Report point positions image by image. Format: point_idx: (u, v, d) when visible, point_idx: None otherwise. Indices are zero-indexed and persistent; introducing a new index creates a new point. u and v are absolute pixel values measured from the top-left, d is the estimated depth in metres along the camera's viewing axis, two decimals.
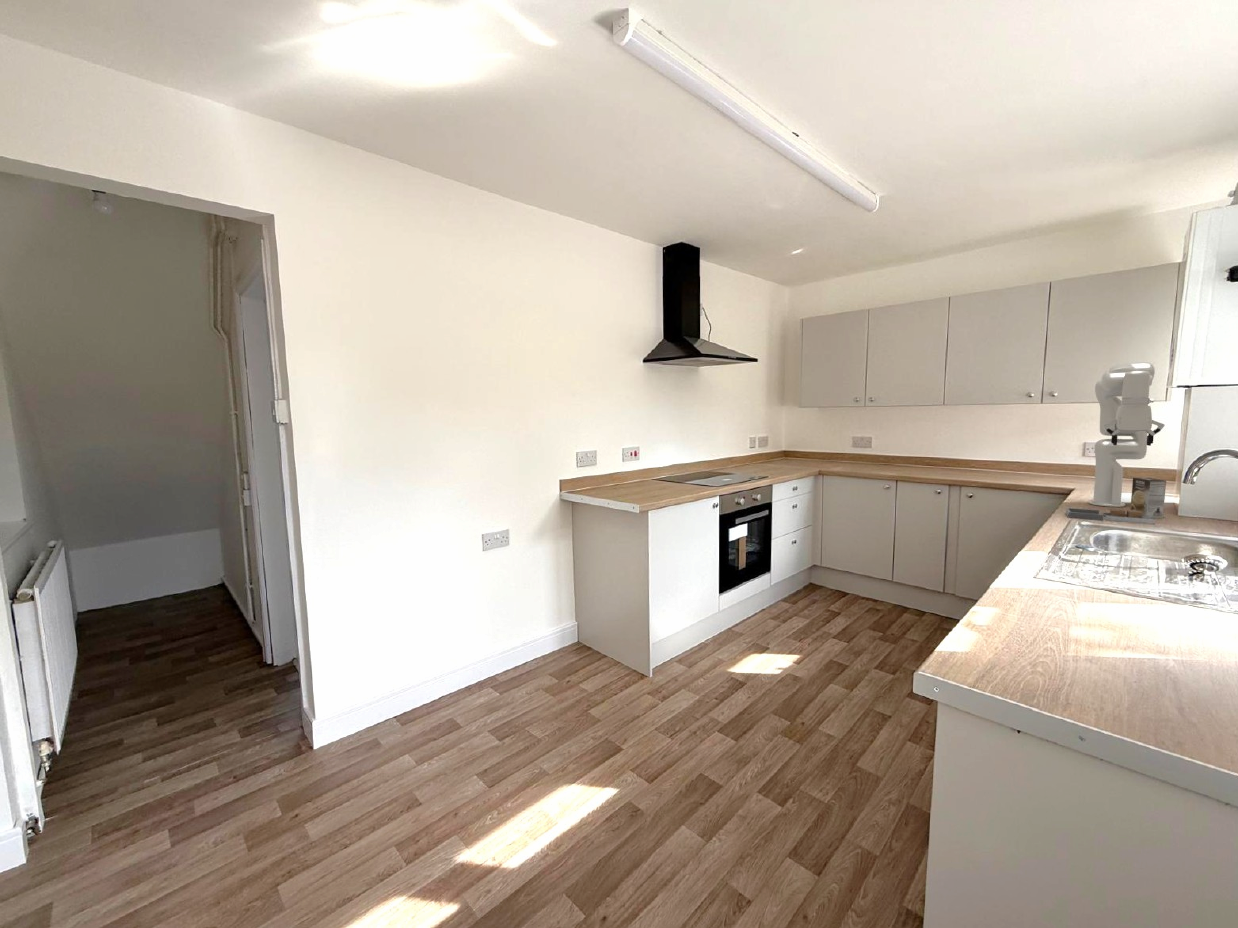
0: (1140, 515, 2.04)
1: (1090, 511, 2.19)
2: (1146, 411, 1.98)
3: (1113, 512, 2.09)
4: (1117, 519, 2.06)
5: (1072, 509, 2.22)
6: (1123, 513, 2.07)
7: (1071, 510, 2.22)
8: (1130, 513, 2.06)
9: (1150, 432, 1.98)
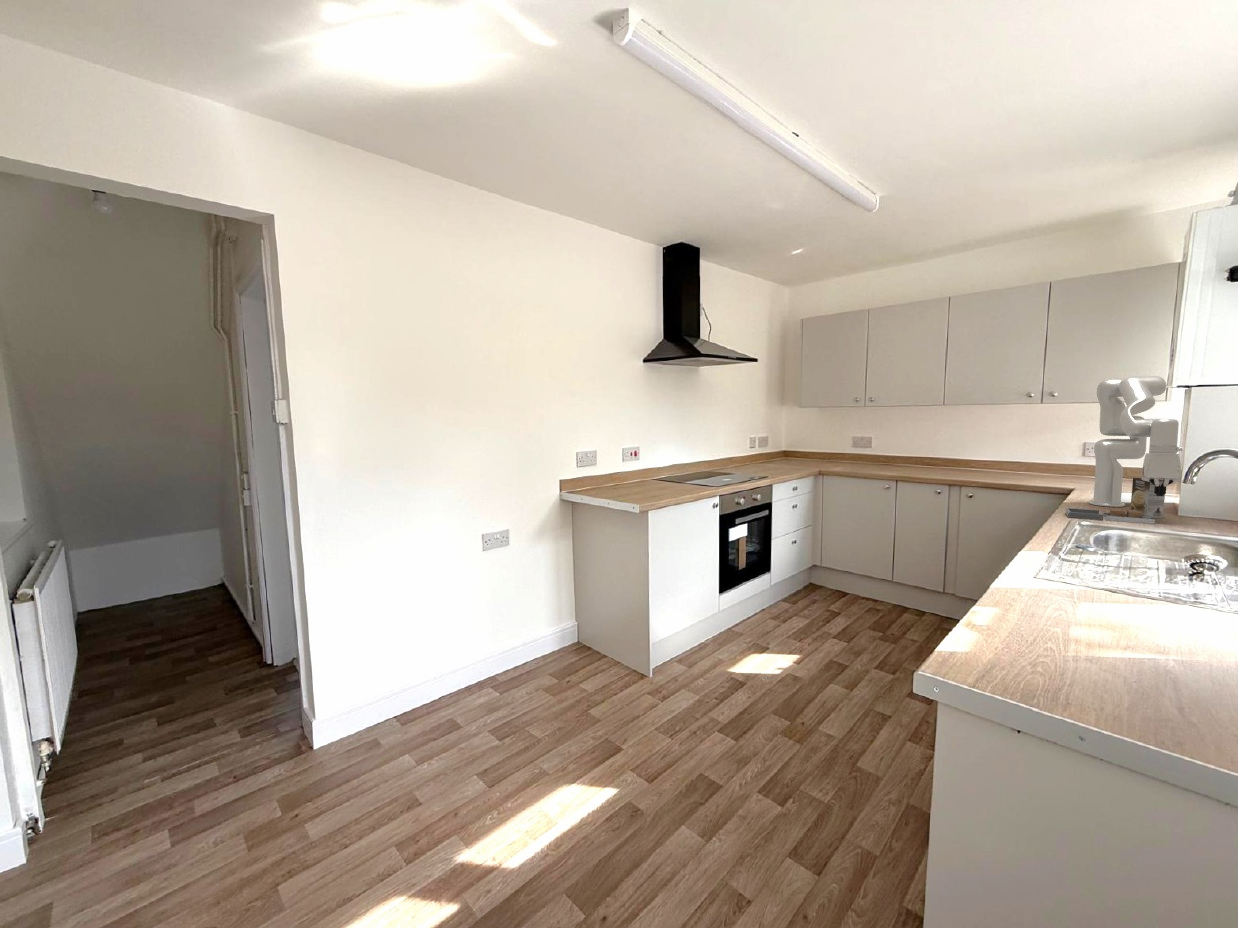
0: (1140, 515, 2.04)
1: (1090, 511, 2.19)
2: (1175, 459, 1.97)
3: (1113, 512, 2.09)
4: (1117, 519, 2.06)
5: (1072, 509, 2.22)
6: (1123, 513, 2.07)
7: (1071, 510, 2.22)
8: (1130, 513, 2.06)
9: (1165, 482, 1.99)
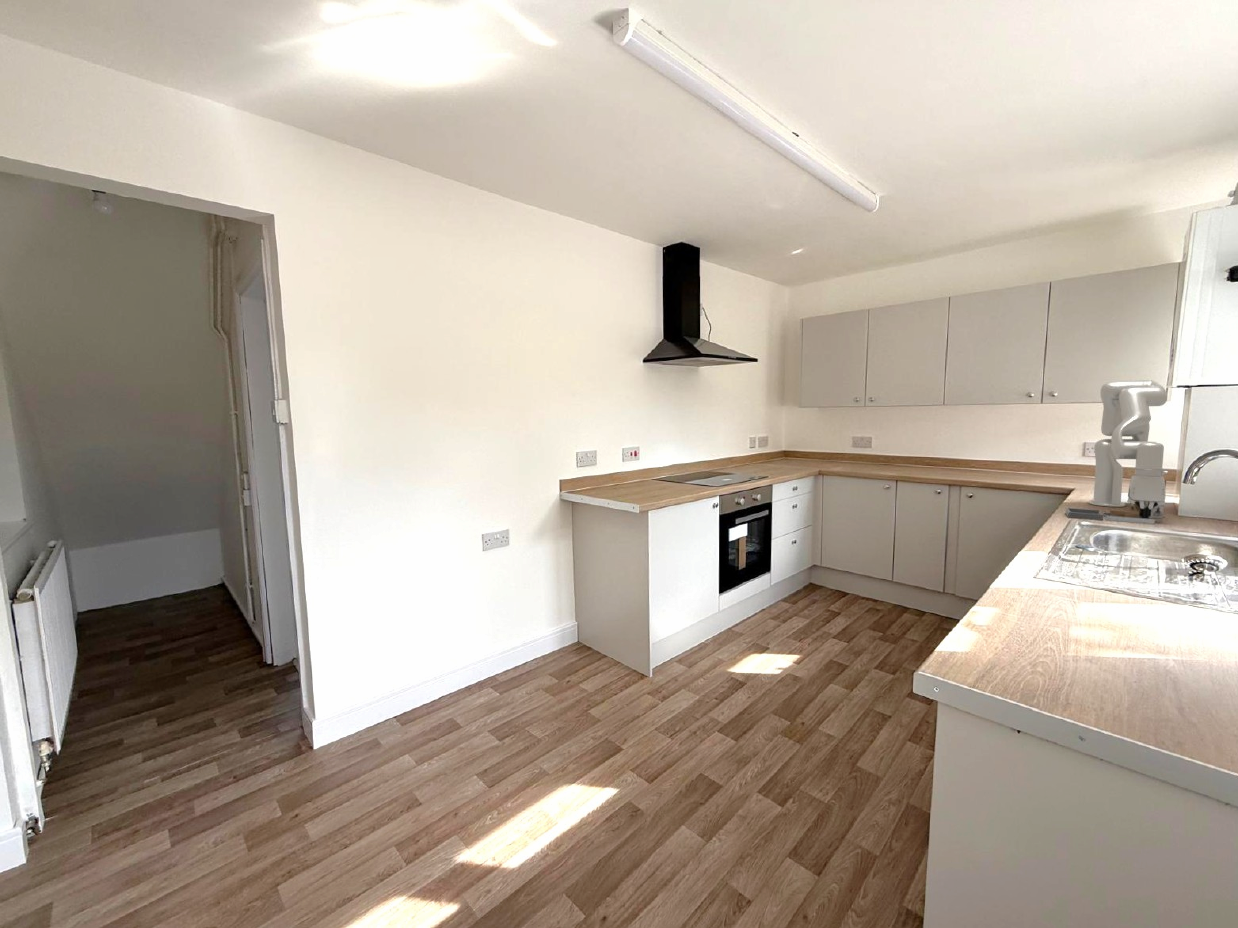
0: (1136, 514, 2.05)
1: (1090, 511, 2.19)
2: (1160, 482, 2.00)
3: (1113, 512, 2.09)
4: (1117, 519, 2.06)
5: (1072, 509, 2.22)
6: (1123, 513, 2.07)
7: (1071, 510, 2.22)
8: (1127, 512, 2.06)
9: (1150, 505, 2.03)
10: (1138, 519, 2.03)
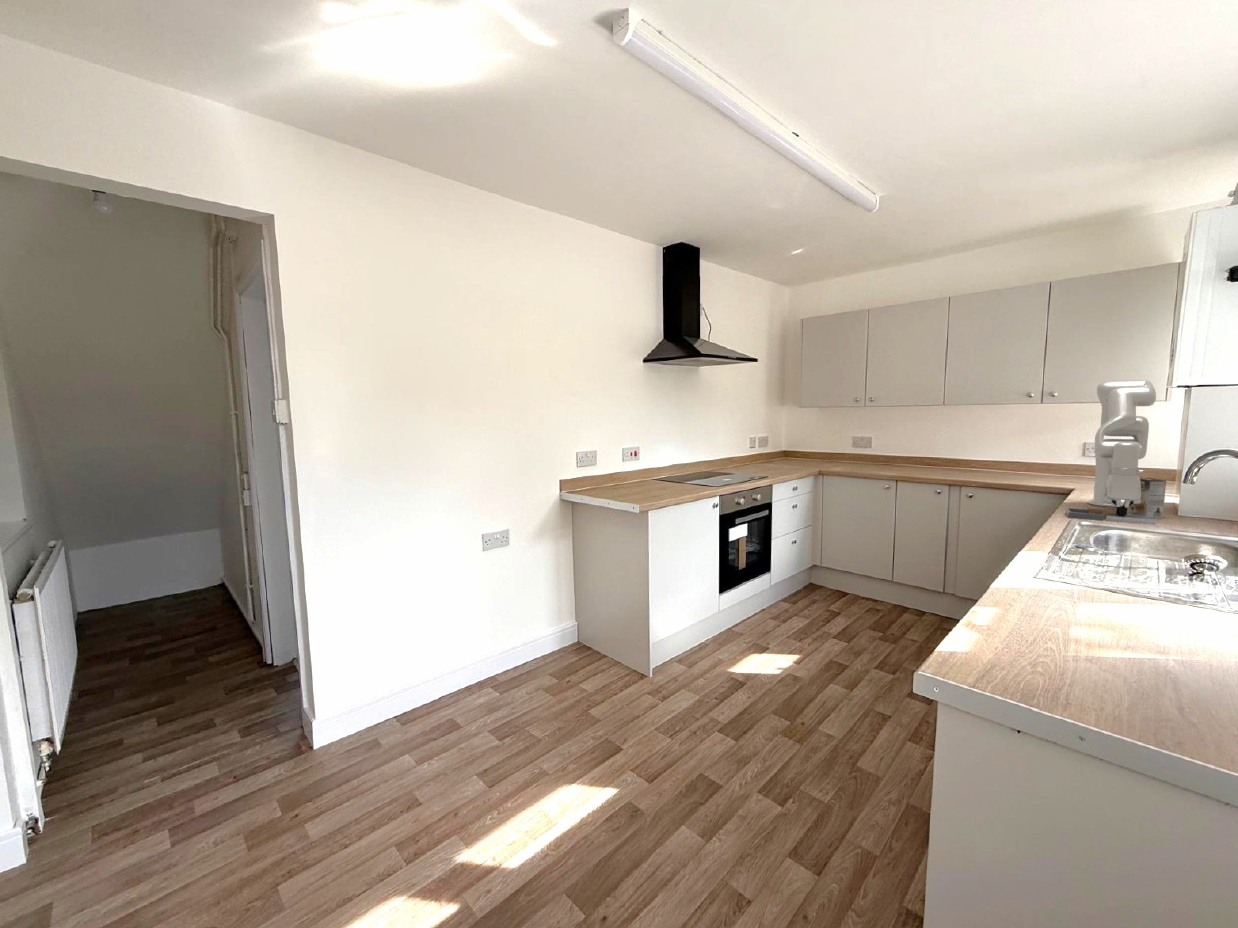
0: (1113, 513, 2.09)
1: None
2: (1135, 481, 2.04)
3: (1090, 510, 2.13)
4: (1117, 519, 2.06)
5: (1072, 509, 2.22)
6: (1100, 511, 2.11)
7: (1071, 510, 2.22)
8: (1103, 511, 2.11)
9: (1126, 503, 2.07)
10: (1138, 519, 2.03)
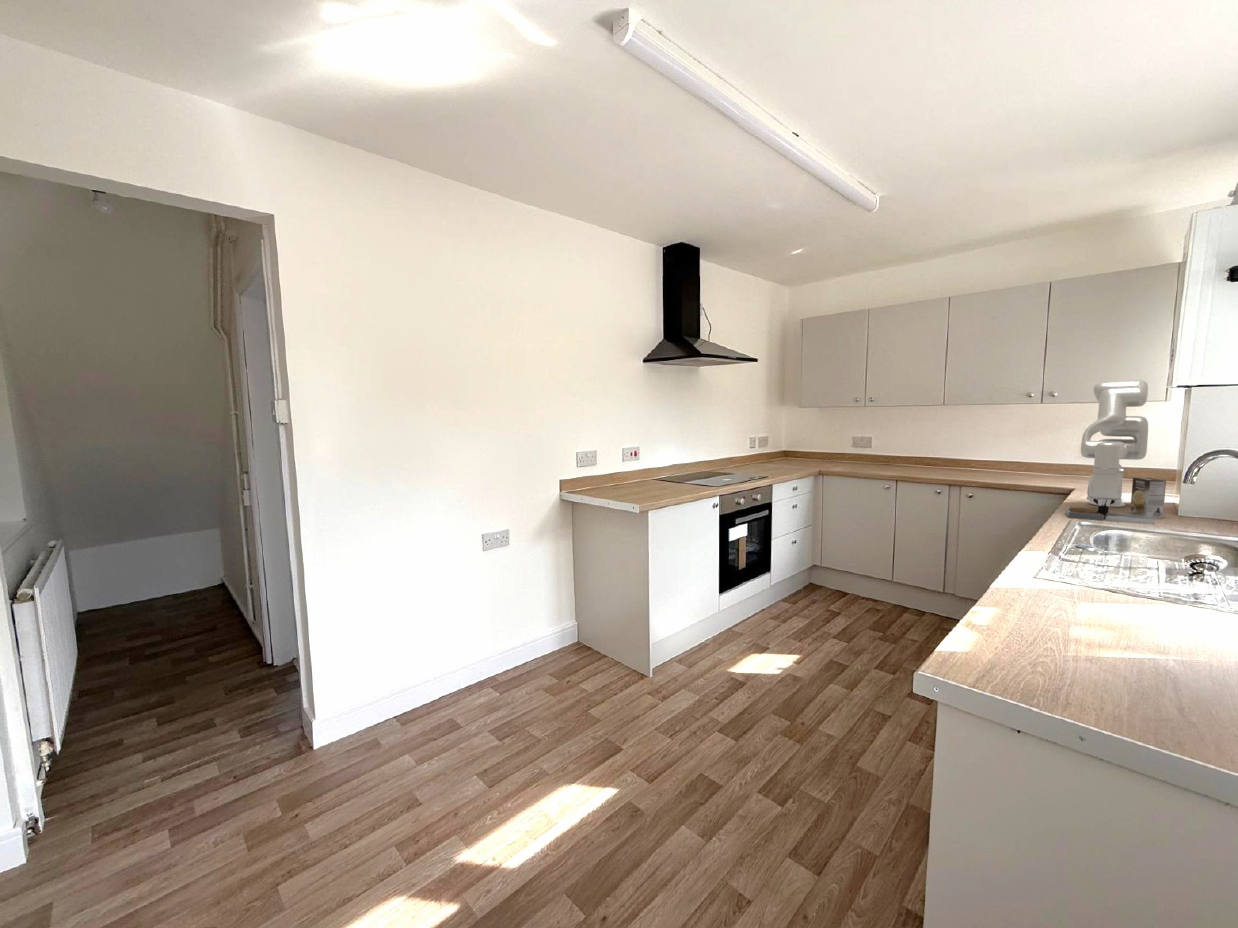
0: (1095, 512, 2.12)
1: None
2: (1116, 481, 2.07)
3: (1073, 509, 2.16)
4: (1117, 519, 2.06)
5: None
6: (1082, 510, 2.15)
7: None
8: (1085, 510, 2.14)
9: (1108, 502, 2.10)
10: (1138, 519, 2.03)
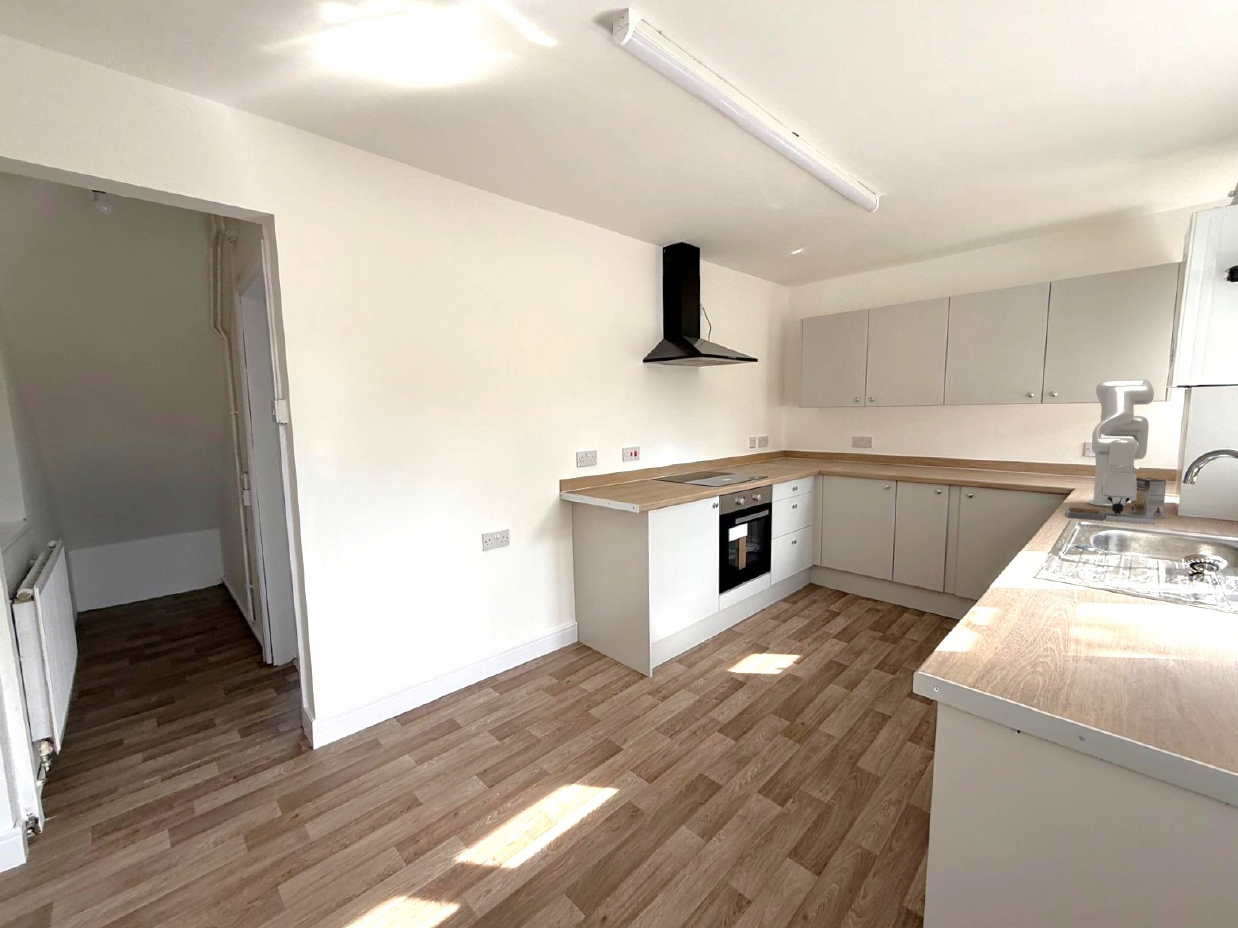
0: (1094, 512, 2.12)
1: None
2: (1131, 478, 2.05)
3: (1072, 509, 2.17)
4: (1117, 519, 2.06)
5: None
6: (1082, 510, 2.15)
7: None
8: (1085, 510, 2.14)
9: (1122, 500, 2.08)
10: (1138, 519, 2.03)
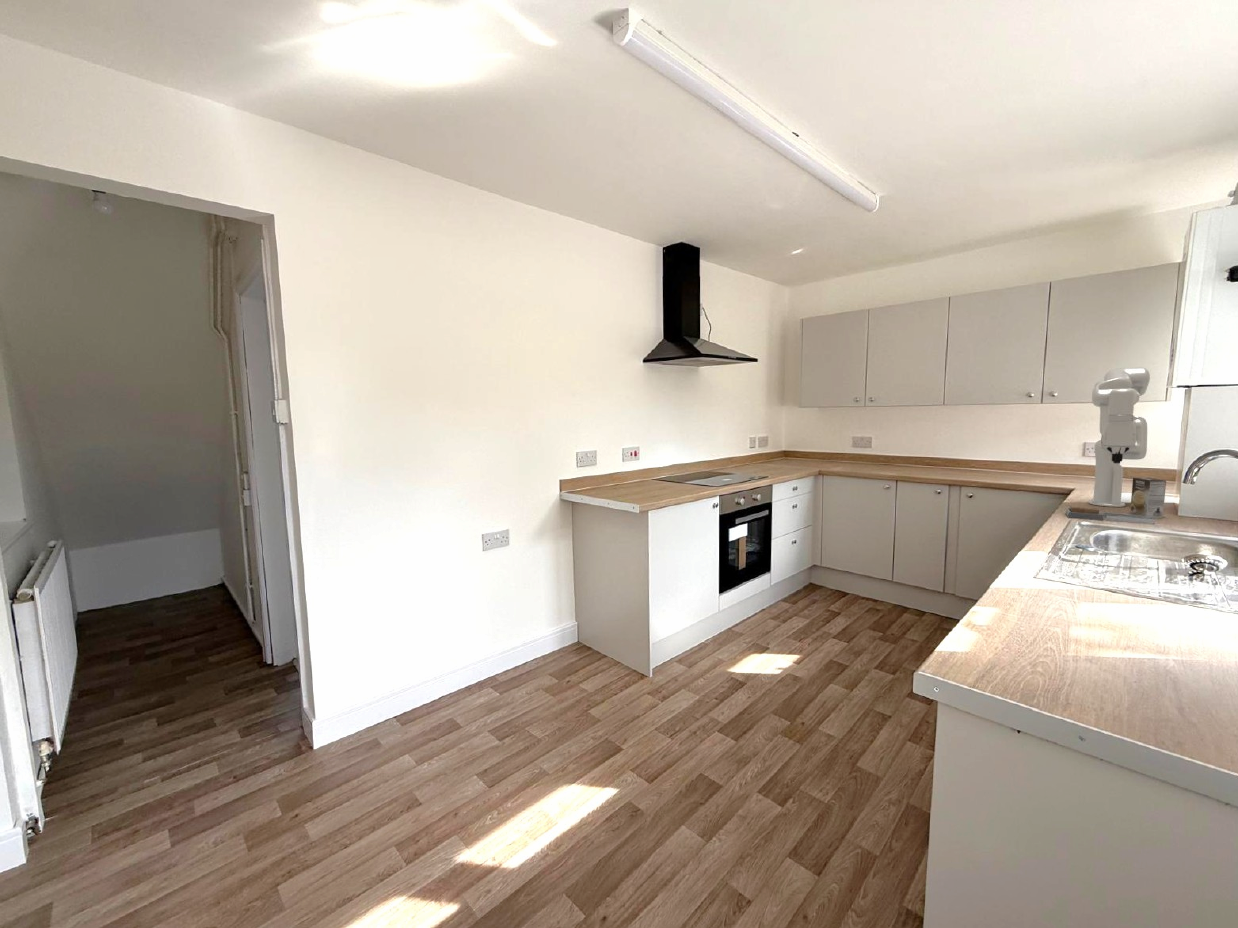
0: (1094, 512, 2.12)
1: None
2: (1130, 427, 2.05)
3: (1072, 509, 2.17)
4: (1117, 519, 2.06)
5: None
6: (1082, 510, 2.15)
7: None
8: (1085, 510, 2.14)
9: (1122, 450, 2.08)
10: (1138, 519, 2.03)
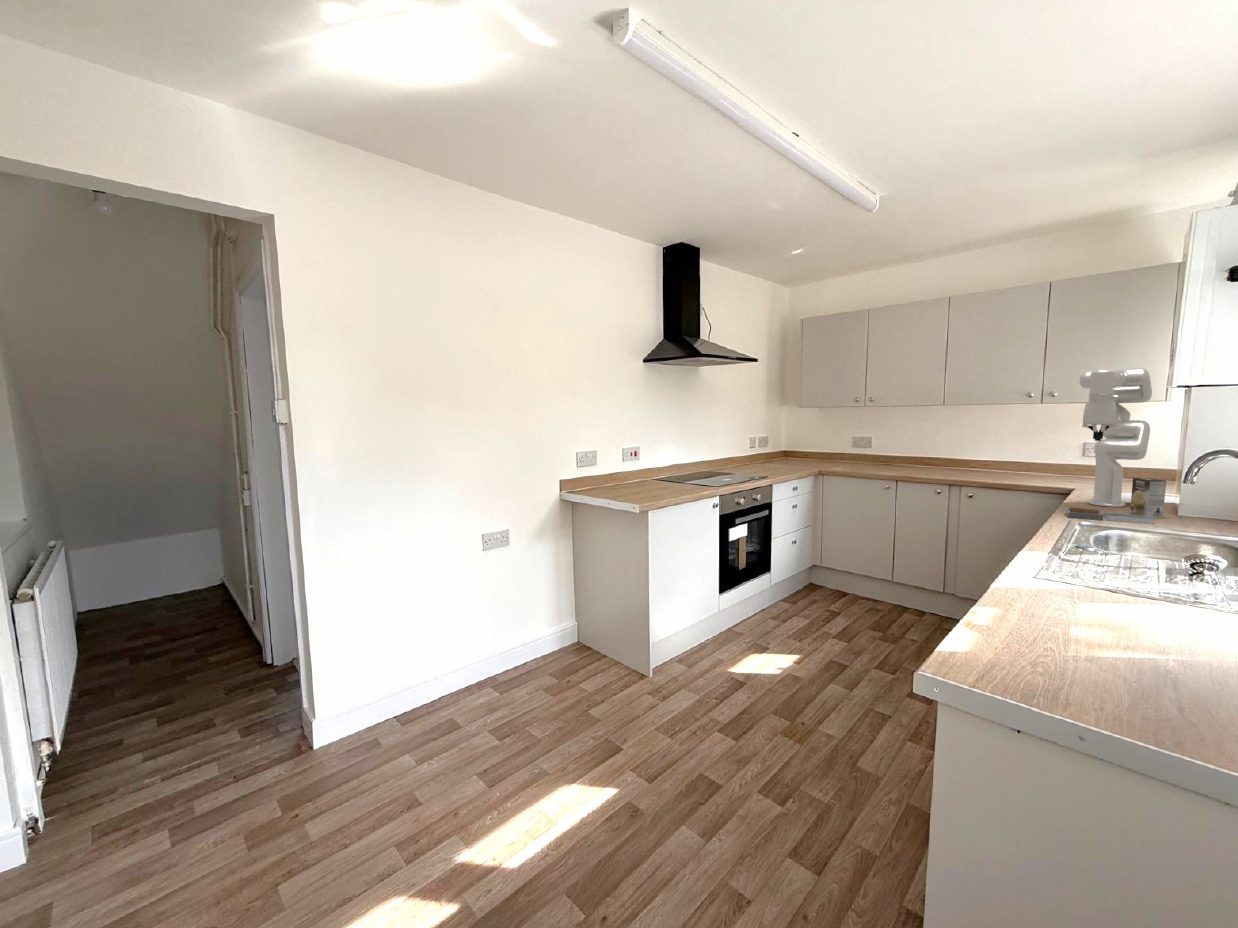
0: (1094, 512, 2.12)
1: None
2: (1110, 406, 2.16)
3: (1072, 509, 2.17)
4: (1117, 519, 2.06)
5: None
6: (1082, 510, 2.15)
7: None
8: (1085, 510, 2.14)
9: (1102, 428, 2.19)
10: (1138, 519, 2.03)
